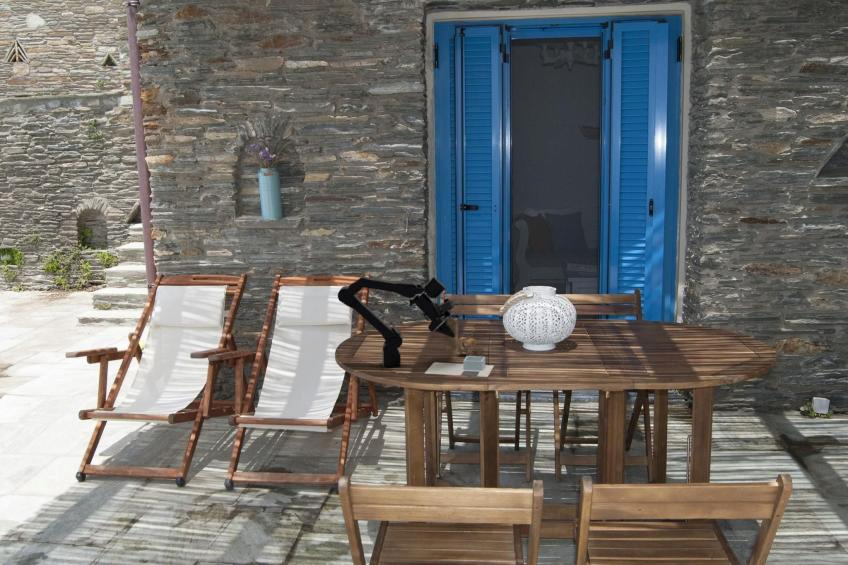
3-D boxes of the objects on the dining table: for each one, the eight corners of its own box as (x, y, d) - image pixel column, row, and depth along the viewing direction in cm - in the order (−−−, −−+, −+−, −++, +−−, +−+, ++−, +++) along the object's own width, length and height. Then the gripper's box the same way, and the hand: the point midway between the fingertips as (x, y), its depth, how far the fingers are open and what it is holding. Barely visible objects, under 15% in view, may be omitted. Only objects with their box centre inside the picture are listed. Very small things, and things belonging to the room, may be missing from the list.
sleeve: (463, 369, 299) (463, 360, 299) (467, 364, 306) (466, 355, 306) (482, 370, 298) (482, 361, 297) (485, 365, 304) (485, 356, 304)
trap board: (424, 375, 295) (424, 373, 295) (434, 364, 310) (434, 362, 310) (487, 379, 289) (487, 376, 289) (494, 367, 305) (494, 365, 305)
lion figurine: (466, 360, 316) (466, 339, 315) (454, 359, 318) (454, 337, 317) (480, 352, 329) (480, 331, 328) (468, 351, 331) (468, 330, 330)
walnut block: (446, 352, 305) (445, 319, 303) (448, 350, 309) (447, 317, 307) (456, 352, 304) (455, 320, 302) (458, 350, 308) (457, 318, 306)
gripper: (436, 297, 295) (465, 327, 294) (446, 288, 312) (474, 317, 312) (416, 317, 298) (444, 346, 297) (427, 307, 316) (454, 335, 315)
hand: (455, 335), depth 305 cm, fingers closed on walnut block, 4 cm apart
